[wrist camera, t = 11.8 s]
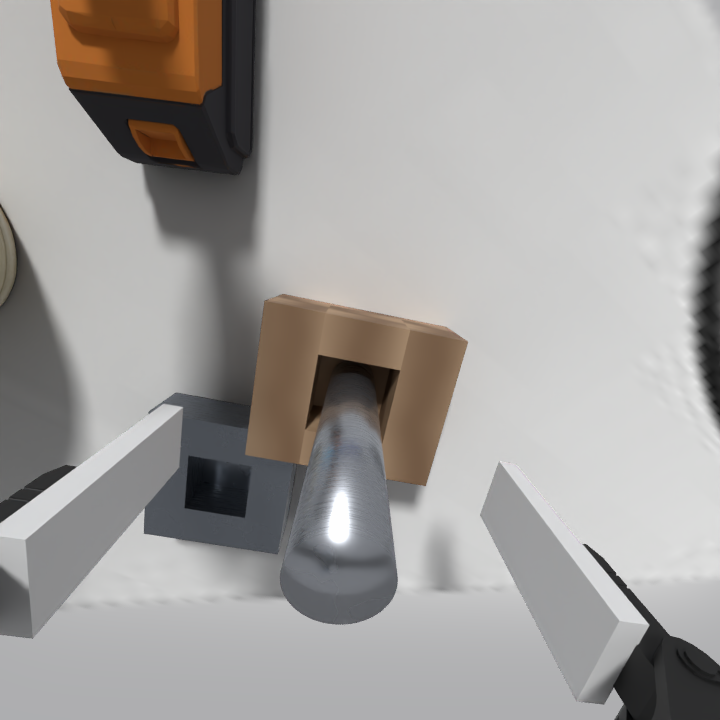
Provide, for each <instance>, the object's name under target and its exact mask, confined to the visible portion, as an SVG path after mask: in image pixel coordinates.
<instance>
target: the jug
mask: <svg viewBox="0 0 720 720" xmlns="http://www.w3.org/2000/svg"><path fill="white" fill-rule="evenodd" d="M16 271H17V257H16V247H15V242H14V238H13V234H12V231H11V228H10V225H9V223H8V221H7V219H6V217H5V215H4V213H3V211H2V209H1V208H0V306H1V305H2V304H3V303H4V302H5V301H6V299H7V297H8V295H9V293H10V291H11V289H12V287H13V284H14V281H15V277H16Z"/></svg>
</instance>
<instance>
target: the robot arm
mask: <svg viewBox="0 0 720 720" xmlns="http://www.w3.org/2000/svg"><path fill="white" fill-rule="evenodd" d="M182 417H183V407H179V406H173V405H168V404H162V405H161V406H160V407H158V408H157V409H155V410H154V411H153V412H151V413H150V414H149V415H147V416H146V417H145V418H143V419H142V420H140V421H139V422H138V423H136V424H135V425H134V426H132V427H131V428H130V429H128V430H127V431H125V432H124V433H123V434H121V435H120V436H119V437H117V438H116V439H115V440H113V441H112V442H110V443H109V444H108V445H106V446H105V447H104V448H102V449H101V450H100V451H98V452H97V453H95V454H94V455H93V456H91V457H90V458H89V459H87V460H86V461H85V462H83V463H82V464H80V465H79V466H78V467H75V466H68V465H65V466H62V467H60V468H57V469H55V470H52V471H50V472H47V473H45V474H43V475H41V476H40V477H38V478H37V479H35V480H34V481H32V482H31V483H29V484H28V485H26V486H25V488H24V489H21V490H19V491H18V492H16V493H15V494H13V495H12V496H10V497H9V499H8V500H4V501H3V502H1V503H0V635H7V636H16V637H25V638H34V636H35V635H36V634H37V633H38V632H39V631H40V630H41V628H42V627H43V626H44V625H45V624H46V623H47V621H48V620H49V619H50V618H51V617H52V616H53V614H54V613H55V612H56V611H57V610H58V609H59V607H60V606H61V605H62V604H63V603H64V602H65V600H66V599H67V598H68V597H69V596H70V594H71V593H72V592H73V591H74V590H75V589H76V587H77V586H78V585H79V584H80V583H81V582H82V580H83V579H84V578H85V577H86V576H87V575H88V573H89V572H90V571H91V570H92V569H93V568H94V566H95V565H96V564H97V563H98V562H99V561H100V559H101V558H102V557H103V556H104V555H105V554H106V552H107V551H108V550H109V549H110V548H111V547H112V545H113V544H114V543H115V542H116V541H117V540H118V538H119V537H120V536H121V535H122V534H123V532H124V531H125V530H126V529H127V528H128V527H129V525H130V524H131V523H132V522H133V521H134V520H135V518H136V517H137V516H138V515H139V514H140V513H141V511H142V510H143V509H144V508H145V507H146V506H147V504H148V503H149V502H150V501H151V500H152V499H153V497H154V496H155V495H156V494H157V493H158V492H159V490H160V489H161V488H162V487H163V486H164V485H165V483H166V482H167V481H168V480H169V479H170V478H171V476H172V475H173V474H174V473H175V472H176V471H177V469H178V468H179V462H180V447H181V432H182ZM480 516H481V517H482V519H483V521H484V523H485V525H486V527H487V529H488V531H489V533H490V535H491V537H492V539H493V541H494V543H495V545H496V547H497V549H498V550H499V552H500V554H501V556H502V558H503V560H504V562H505V564H506V566H507V568H508V570H509V572H510V574H511V576H512V578H513V580H514V582H515V583H516V585H517V587H518V589H519V591H520V593H521V595H522V597H523V599H524V601H525V603H526V605H527V607H528V609H529V611H530V613H531V615H532V616H533V618H534V620H535V622H536V624H537V626H538V628H539V630H540V632H541V634H542V636H543V638H544V640H545V641H546V644H547V646H548V648H549V649H550V651H551V653H552V655H553V657H554V659H555V661H556V663H557V665H558V667H559V669H560V671H561V673H562V675H563V677H564V679H565V681H566V682H567V684H568V686H569V688H570V690H571V692H572V694H573V696H574V698H575V700H576V701H579V702H588V703H595V704H604V703H605V702H606V700H607V698H608V697H609V695H610V693H611V691H612V690H613V688H615V690H616V691H617V693H618V695H619V696H620V698H621V699H622V701H623V703H624V705H623V706H622V708H621V710H620V711H619V713H618V715H617V716H616V718H615V720H720V666H719V665H718V664H717V663H716V662H715V661H714V660H713V659H711V658H710V657H709V656H708V655H707V654H706V653H704V652H703V651H701V650H700V649H698V648H697V647H695V646H694V645H692V644H690V643H688V642H686V641H684V640H682V639H680V638H676V637H672V636H670V635H669V634H668V633H667V632H666V631H665V629H663V627H662V626H661V625H660V624H659V622H658V621H657V620H656V619H655V618H654V617H653V615H652V614H651V613H650V612H649V611H648V610H647V608H646V607H645V606H644V605H643V604H642V603H641V602H640V600H639V599H638V598H637V597H636V596H635V595H634V593H633V592H632V591H631V590H630V589H628V588H627V585H626V584H625V583H624V582H623V581H622V579H621V578H620V577H619V576H616V572H615V571H614V570H613V569H612V568H611V567H610V565H609V564H608V563H607V562H606V561H605V560H604V558H603V557H601V556H600V555H599V554H598V553H596V552H595V551H594V550H593V549H592V548H590V547H589V546H588V545H587V544H582V543H581V542H580V540H579V539H578V538H577V537H576V536H575V534H574V533H573V532H572V531H571V530H570V528H569V527H568V526H567V525H566V524H565V522H564V521H563V520H562V519H561V518H560V516H559V515H558V514H557V513H556V512H555V510H554V509H553V508H552V507H551V505H550V504H549V503H548V502H547V501H546V499H545V498H544V497H543V496H542V495H541V493H540V492H539V491H538V490H537V489H536V487H535V486H534V485H533V484H532V483H531V481H530V480H529V479H528V478H527V477H526V475H525V474H524V473H523V472H522V470H521V469H520V468H519V467H518V466H517V464H512V463H507V462H501V461H499V463H498V466H497V469H496V472H495V474H494V477H493V480H492V483H491V486H490V489H489V491H488V494H487V497H486V500H485V503H484V505H483V508H482V511H481V514H480Z"/></svg>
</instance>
